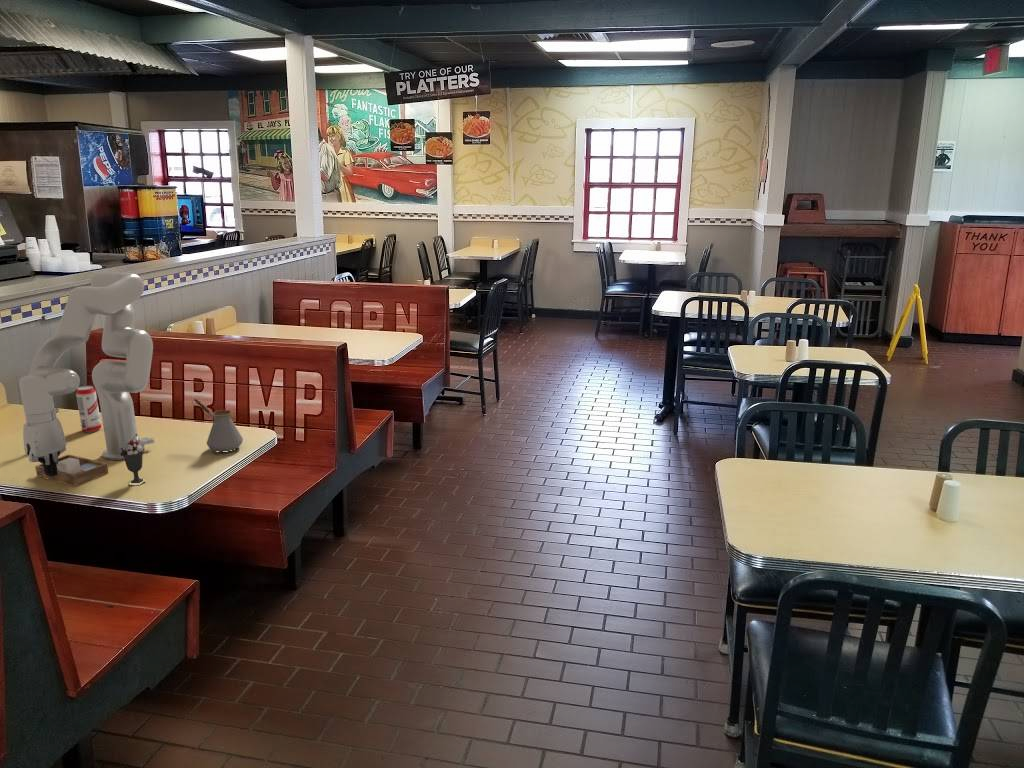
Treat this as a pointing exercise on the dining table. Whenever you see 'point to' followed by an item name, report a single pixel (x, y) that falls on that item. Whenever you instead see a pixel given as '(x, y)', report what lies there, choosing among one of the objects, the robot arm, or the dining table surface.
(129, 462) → the sundae
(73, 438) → the dining table surface
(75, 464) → the block
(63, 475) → the tray
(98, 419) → the beer can
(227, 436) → the coffee pot
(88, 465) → the bay
